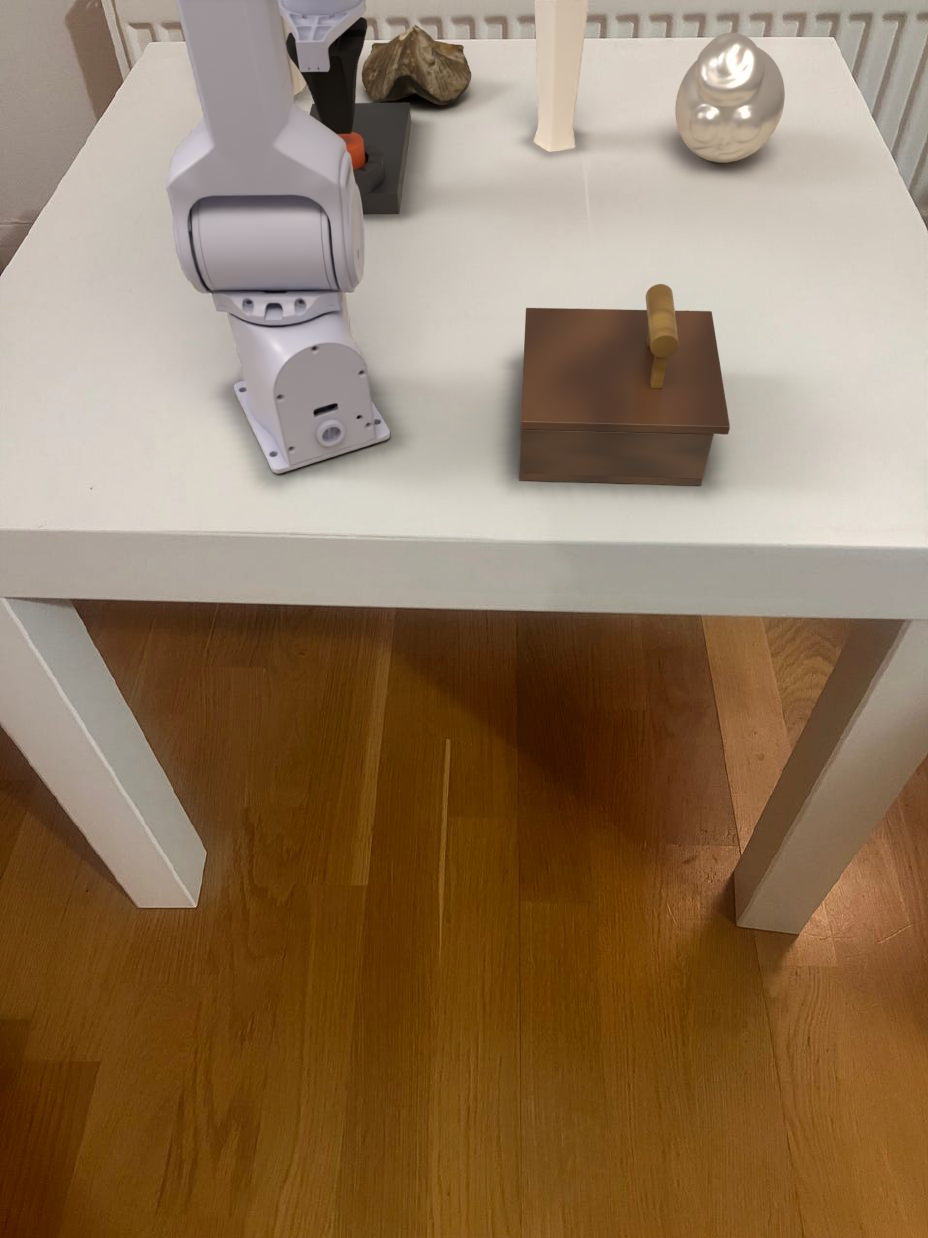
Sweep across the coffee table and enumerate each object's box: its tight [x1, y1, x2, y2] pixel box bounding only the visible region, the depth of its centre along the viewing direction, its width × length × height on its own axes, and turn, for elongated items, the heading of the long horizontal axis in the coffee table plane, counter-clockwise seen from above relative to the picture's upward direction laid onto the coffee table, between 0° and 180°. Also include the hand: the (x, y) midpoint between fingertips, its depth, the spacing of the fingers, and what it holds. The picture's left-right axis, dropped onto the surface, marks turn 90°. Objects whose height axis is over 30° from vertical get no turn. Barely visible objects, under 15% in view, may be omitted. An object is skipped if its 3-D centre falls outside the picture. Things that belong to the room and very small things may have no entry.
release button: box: [337, 132, 365, 170], centre depth 76 cm, size 4×4×2 cm
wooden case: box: [518, 428, 715, 486], centre depth 60 cm, size 11×11×4 cm
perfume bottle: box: [533, 0, 590, 153], centre depth 78 cm, size 5×4×15 cm
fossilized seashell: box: [361, 24, 472, 106], centre depth 88 cm, size 8×7×10 cm
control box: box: [308, 102, 412, 216], centre depth 81 cm, size 17×9×4 cm, turn 178°
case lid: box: [520, 283, 731, 435], centre depth 56 cm, size 12×11×4 cm
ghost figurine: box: [674, 32, 786, 164], centre depth 78 cm, size 9×10×10 cm
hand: (339, 129), depth 74 cm, fingers closed
